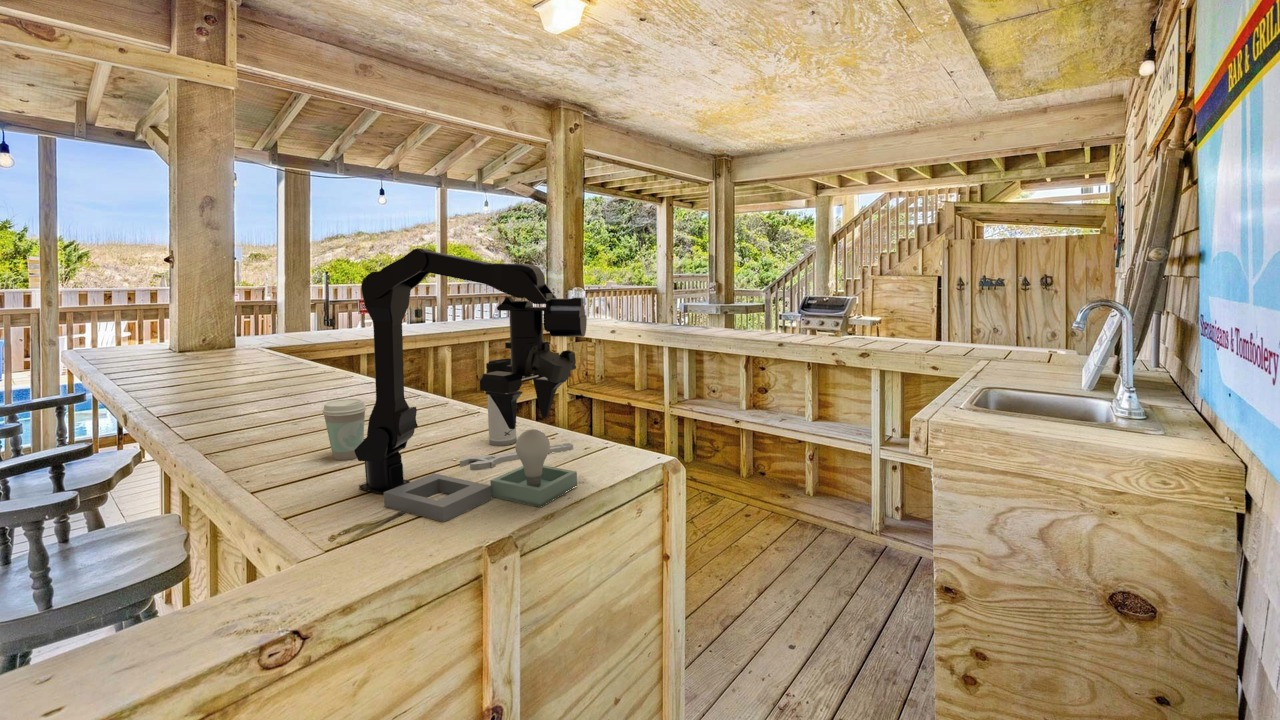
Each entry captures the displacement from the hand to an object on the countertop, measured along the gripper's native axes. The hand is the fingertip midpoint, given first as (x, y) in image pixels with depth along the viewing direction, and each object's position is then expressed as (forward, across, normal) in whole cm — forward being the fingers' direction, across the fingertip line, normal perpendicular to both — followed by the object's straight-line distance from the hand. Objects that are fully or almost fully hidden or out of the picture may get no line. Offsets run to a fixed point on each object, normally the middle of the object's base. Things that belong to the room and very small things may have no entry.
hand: (529, 423), depth 106 cm
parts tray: (+13, 0, -1) cm, 13 cm away
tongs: (+14, -24, +13) cm, 30 cm away
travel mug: (+13, +22, +26) cm, 37 cm away
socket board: (+13, -12, +11) cm, 20 cm away
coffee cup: (+13, -2, +49) cm, 51 cm away
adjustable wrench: (+14, +15, +14) cm, 25 cm away
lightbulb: (+12, 0, -1) cm, 12 cm away
